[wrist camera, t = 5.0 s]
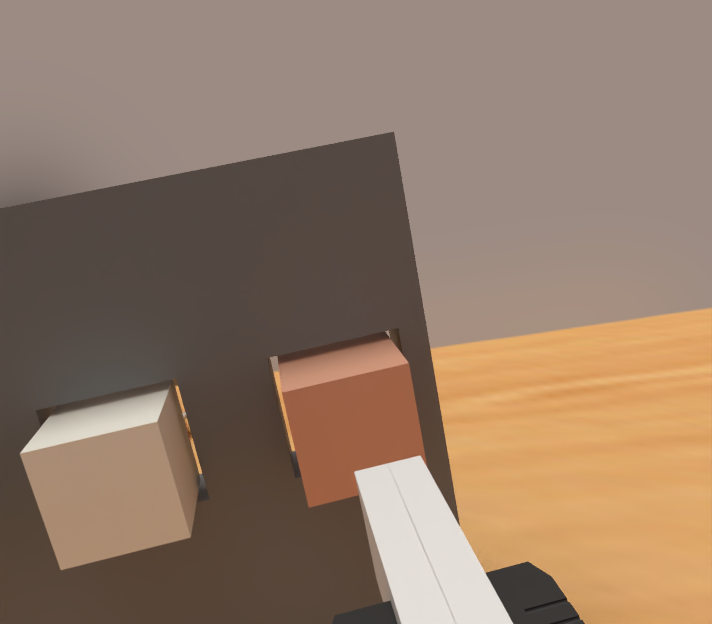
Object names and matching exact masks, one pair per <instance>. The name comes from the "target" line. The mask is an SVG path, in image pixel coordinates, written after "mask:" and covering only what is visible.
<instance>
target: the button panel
mask: <svg viewBox="0 0 712 624" xmlns="http://www.w3.org/2000/svg"><path fill="white" fill-rule="evenodd" d="M387 330H389V333H390V339H391V340H392V342H393V343H394V344H395V345H396V347H397V348H398V349H399V351H400V352H401V353H402V355H403V356H404V357H405V359H406V360H407V361H408V363H409V367H410V372H411V378H412V384H413V389H414V395H415V401H416V406H417V412H418V418H419V423H420V429H421V434H422V440H423V446H424V451H425V457H426V463H427V468H428V470H429V472H430V474H431V475H432V477H433V479H434V481H435V483H436V485H437V486H438V488H439V490H440V492H441V494H442V495H443V497H444V499H445V501H446V503H447V504H448V506H449V508H450V510H451V512H452V514H453V515H454V517H455V519H456V521H457V523H458V524H459V518H458V512H457V506H456V500H455V494H454V488H453V482H452V476H451V470H450V464H449V458H448V452H447V446H446V440H445V434H444V428H443V422H442V416H441V410H440V405H439V399H438V393H437V387H436V381H435V375H434V369H433V363H432V357H431V351H430V345H429V340H428V333H427V327H426V321H425V315H424V309H423V303H422V297H421V292H420V285H419V279H418V273H417V267H416V261H415V255H414V249H413V243H412V237H411V231H410V225H409V219H408V213H407V207H406V201H405V195H404V190H403V184H402V177H401V172H400V165H399V159H398V154H397V147H396V141H395V136H394V132H391V133H385V134H380V135H375V136H370V137H365V138H360V139H355V140H349V141H344V142H339V143H334V144H329V145H324V146H319V147H314V148H309V149H303V150H298V151H293V152H288V153H283V154H278V155H272V156H267V157H263V158H257V159H252V160H247V161H242V162H237V163H232V164H226V165H221V166H217V167H211V168H206V169H201V170H196V171H190V172H185V173H180V174H175V175H170V176H165V177H160V178H154V179H149V180H145V181H139V182H134V183H129V184H124V185H119V186H114V187H108V188H104V189H98V190H93V191H88V192H83V193H78V194H73V195H68V196H63V197H57V198H52V199H47V200H42V201H36V202H31V203H26V204H22V205H16V206H11V207H6V208H1V209H0V624H332V622H333V619H334V616H335V615H338V614H342V613H345V612H349V611H353V610H357V609H360V608H364V607H368V606H372V605H375V604H379V603H383V600H382V596H381V593H380V589H379V586H378V582H377V579H376V574H375V570H374V565H373V560H372V555H371V550H370V546H369V541H368V536H367V531H366V526H365V522H364V517H363V512H362V507H361V503H360V498H359V495H357V496H353V497H349V498H345V499H342V500H338V501H334V502H330V503H326V504H322V505H318V506H314V507H310V508H309V507H308V502H307V498H306V494H305V489H304V485H303V481H302V476H301V472H300V468H299V464H298V459H297V455H296V451H293V452H292V450H291V446H290V441H289V437H288V433H287V429H286V424H285V420H284V416H283V412H282V407H281V403H280V399H279V395H278V390H277V386H276V382H275V377H274V373H273V369H272V365H271V360H270V357H273V356H278V355H282V354H286V353H291V352H295V351H300V350H304V349H308V348H313V347H317V346H322V345H326V344H331V343H335V342H339V341H344V340H348V339H353V338H357V337H361V336H366V335H370V334H375V333H379V332H383V331H387ZM172 379H177V383H178V386H179V390H180V394H181V397H182V401H183V405H184V408H185V412H186V415H187V419H188V423H189V426H190V430H191V434H192V437H193V441H194V444H195V448H196V452H197V455H198V459H199V463H200V466H201V470H202V474H199V475H200V485H199V491H198V497H197V503H196V509H195V515H194V521H193V527H192V533H191V538H187V539H183V540H179V541H175V542H171V543H167V544H163V545H159V546H155V547H151V548H147V549H143V550H139V551H135V552H131V553H127V554H123V555H120V556H116V557H112V558H108V559H104V560H100V561H96V562H92V563H88V564H84V565H80V566H76V567H72V568H68V569H64V570H61V569H60V567H59V564H58V561H57V558H56V555H55V552H54V550H53V547H52V544H51V541H50V538H49V535H48V533H47V530H46V527H45V524H44V521H43V518H42V516H41V513H40V510H39V507H38V504H37V501H36V499H35V496H34V493H33V490H32V487H31V484H30V482H29V479H28V476H27V473H26V470H25V467H24V464H23V462H22V459H21V456H20V453H21V451H22V450H23V449H24V448H25V446H26V445H27V444H28V443H29V441H30V440H31V439H32V438H33V436H34V435H35V434H36V433H37V431H38V430H39V429H40V428H41V426H42V425H43V424H44V422H45V421H46V420H47V419H48V417H49V416H50V415H51V414H52V412H53V411H54V410H55V409H56V407H57V406H58V405H62V404H66V403H70V402H75V401H79V400H84V399H88V398H92V397H97V396H101V395H106V394H110V393H114V392H119V391H123V390H128V389H132V388H137V387H141V386H145V385H150V384H154V383H159V382H163V381H167V380H172ZM459 526H460V524H459Z"/></svg>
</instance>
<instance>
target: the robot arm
mask: <svg viewBox="0 0 712 624" xmlns="http://www.w3.org/2000/svg"><path fill="white" fill-rule="evenodd" d="M354 474H355V479H356V483H357V488H358V493H359V498H360V503H361V507H362V512H363V517H364V522H365V526H366V531H367V536H368V541H369V546H370V550H371V555H372V560H373V565H374V570H375V574H376V579H377V582H378V586H379V589H380V593H381V596H382V600H383V603H379V604H375V605H372V606H368V607H364V608H360V609H357V610H353V611H349V612H345V613H342V614H338V615H335V616H334V619H333V622H332V624H585V623H584V622H583V621H582V620H580V618H579V615H578V613H577V612H576V611H575V609H574V608H573V606H572V605H571V604H570V602H568V601H567V598H566V596H565V595H564V594H563V592H562V591H561V589H560V588H559V587H558V585H557V584H556V582H555V581H554V579H553V578H552V577H551V576H550V575H548V574H546V573H545V572H543V571H542V570H540V569H539V568H537V567H535V566H534V565H532V564H531V563H529V562H525V563H521V564H517V565H514V566H510V567H506V568H502V569H499V570H495V571H491V572H487V573H485V572H484V570H483V568H482V566H481V564H480V562H479V561H478V559H477V557H476V555H475V553H474V552H473V550H472V548H471V546H470V544H469V543H468V541H467V539H466V537H465V535H464V533H463V532H462V530H461V528H460V526H459V524H458V523H457V521H456V519H455V517H454V515H453V514H452V512H451V510H450V508H449V506H448V504H447V503H446V501H445V499H444V497H443V495H442V494H441V492H440V490H439V488H438V486H437V485H436V483H435V481H434V479H433V477H432V475H431V474H430V472H429V470H428V468H427V466H426V465H425V463H424V461H423V459H422V457H421V456H416V457H412V458H408V459H404V460H399V461H395V462H391V463H387V464H383V465H379V466H375V467H371V468H367V469H363V470H359V471H355V472H354Z"/></svg>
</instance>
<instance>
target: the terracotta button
mask: <svg viewBox="0 0 712 624" xmlns="http://www.w3.org/2000/svg"><path fill="white" fill-rule="evenodd" d="M278 364H279V372H280V380H281V389H282V395H283V399H284V403H285V408H286V412H287V416H288V421H289V425H290V429H291V434H292V438H293V442H294V446H295V451H296V455H297V459H298V464H299V468H300V472H301V476H302V481H303V485H304V489H305V494H306V498H307V502H308V507H309V508H310V507H314V506H318V505H322V504H326V503H330V502H334V501H338V500H342V499H345V498H349V497H353V496H357V495H359V493H358V488H357V483H356V479H355V474H354V472H355V471H359V470H363V469H367V468H371V467H375V466H379V465H383V464H387V463H391V462H395V461H399V460H404V459H408V458H412V457H416V456H421V457H422V459H423V461H424V463H425V465H426V466H427V463H426V457H425V451H424V446H423V440H422V434H421V429H420V423H419V418H418V412H417V406H416V401H415V395H414V389H413V384H412V378H411V372H410V367H409V363H408V361H407V360H406V359H405V357H404V356H403V355H402V353H401V352H400V351H399V349H398V348H397V347H396V345H395V344H394V343H393V342H392V340H391V339H390V338H389V336H388V335H387V334H386V332H385V331H383V332H379V333H375V334H370V335H366V336H361V337H357V338H353V339H348V340H344V341H339V342H335V343H331V344H326V345H322V346H317V347H313V348H308V349H304V350H300V351H295V352H291V353H286V354H282V355H278Z"/></svg>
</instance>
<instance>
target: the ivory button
mask: <svg viewBox="0 0 712 624" xmlns="http://www.w3.org/2000/svg"><path fill="white" fill-rule="evenodd" d="M20 456H21V459H22V462H23V464H24V467H25V470H26V473H27V476H28V479H29V482H30V484H31V487H32V490H33V493H34V496H35V499H36V501H37V504H38V507H39V510H40V513H41V516H42V518H43V521H44V524H45V527H46V530H47V533H48V535H49V538H50V541H51V544H52V547H53V550H54V552H55V555H56V558H57V561H58V564H59V567H60V569H61V570H64V569H68V568H72V567H76V566H80V565H84V564H88V563H92V562H96V561H100V560H104V559H108V558H112V557H116V556H120V555H123V554H127V553H131V552H135V551H139V550H143V549H147V548H151V547H155V546H159V545H163V544H167V543H171V542H175V541H179V540H183V539H187V538H191V533H192V527H193V521H194V515H195V509H196V503H197V497H198V491H199V485H200V475H199V471H198V468H197V464H196V461H195V457H194V453H193V450H192V446H191V443H190V439H189V435H188V432H187V428H186V425H185V421H184V417H183V414H182V410H181V406H180V403H179V399H178V396H177V392H176V388H175V385H174V382H173V379H172V380H167V381H163V382H159V383H154V384H150V385H145V386H141V387H137V388H132V389H128V390H123V391H119V392H114V393H110V394H106V395H101V396H97V397H92V398H88V399H84V400H79V401H75V402H70V403H66V404H62V405H58V406H57V407H56V409H55V410H54V411H53V412H52V414H51V415H50V416H49V417H48V419H47V420H46V421H45V422H44V424H43V425H42V426H41V428H40V429H39V430H38V431H37V433H36V434H35V435H34V436H33V438H32V439H31V440H30V441H29V443H28V444H27V445H26V446H25V448H24V449H23V450H22V451H21V453H20Z"/></svg>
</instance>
